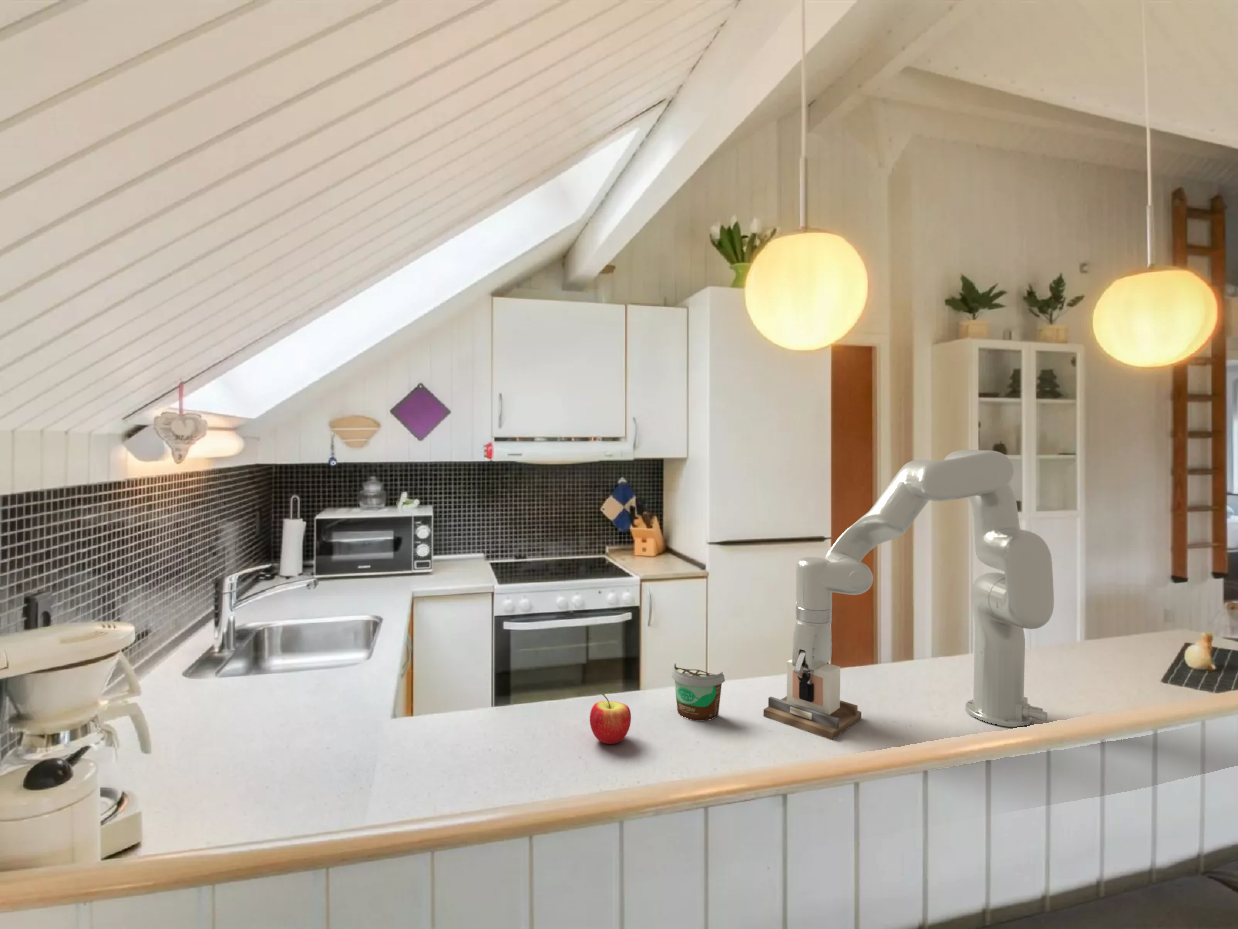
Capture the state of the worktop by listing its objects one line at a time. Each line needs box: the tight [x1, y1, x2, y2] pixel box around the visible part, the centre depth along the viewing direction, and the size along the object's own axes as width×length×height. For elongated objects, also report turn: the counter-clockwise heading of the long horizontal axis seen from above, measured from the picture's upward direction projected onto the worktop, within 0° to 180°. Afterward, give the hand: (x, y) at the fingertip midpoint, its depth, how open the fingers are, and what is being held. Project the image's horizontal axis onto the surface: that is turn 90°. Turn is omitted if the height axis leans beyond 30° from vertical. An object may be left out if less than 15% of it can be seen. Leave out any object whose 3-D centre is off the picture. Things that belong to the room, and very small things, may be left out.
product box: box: [786, 658, 841, 715], centre depth 137 cm, size 5×10×9 cm, turn 46°
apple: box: [589, 692, 632, 745], centre depth 126 cm, size 8×8×10 cm
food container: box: [670, 663, 726, 721], centre depth 138 cm, size 12×6×10 cm, turn 62°
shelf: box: [763, 695, 862, 741], centre depth 137 cm, size 16×14×4 cm
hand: (812, 695), depth 137 cm, fingers closed on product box, 5 cm apart
